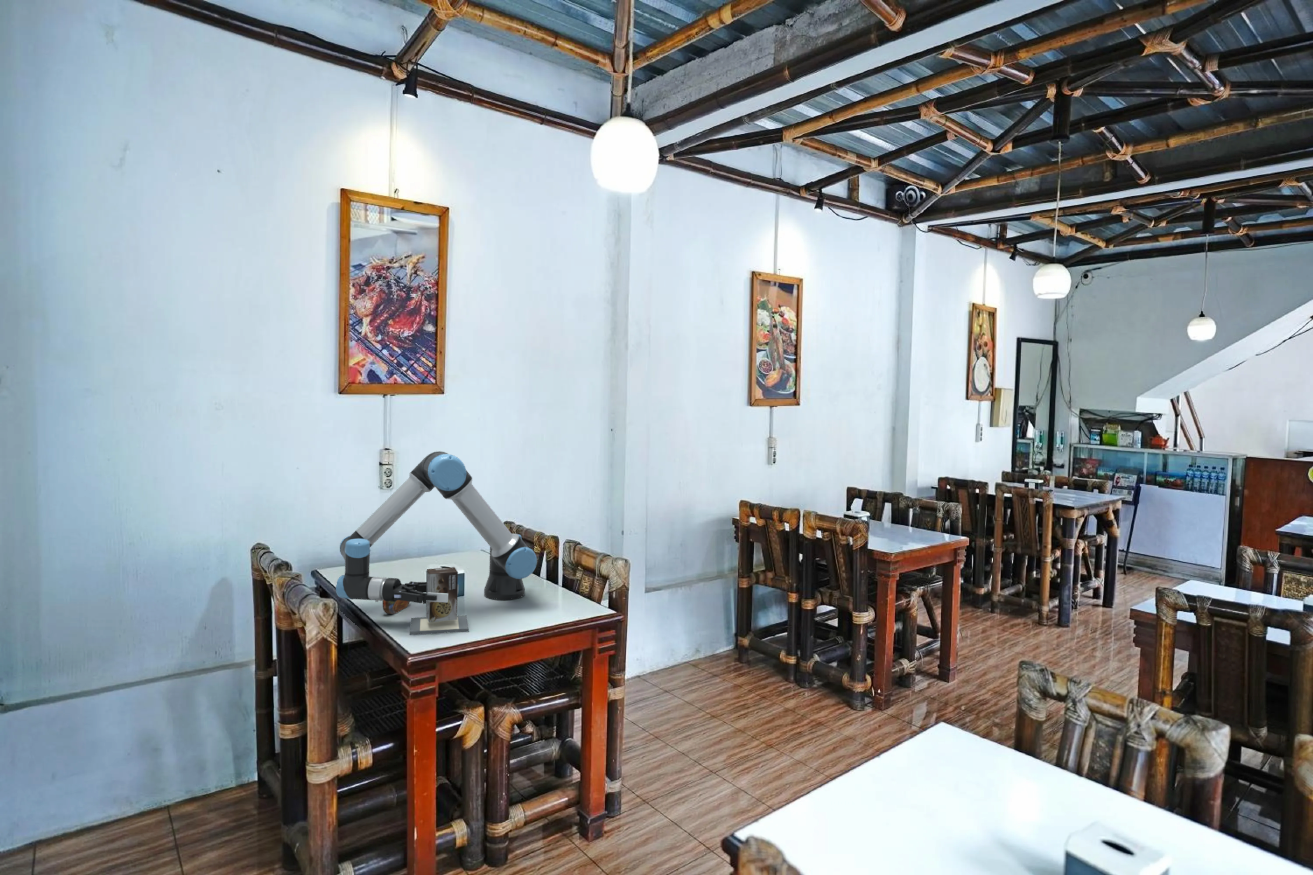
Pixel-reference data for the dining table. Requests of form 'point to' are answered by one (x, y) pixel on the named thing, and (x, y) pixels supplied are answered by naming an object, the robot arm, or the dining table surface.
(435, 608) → the coffee box
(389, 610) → the tin
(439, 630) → the mat
